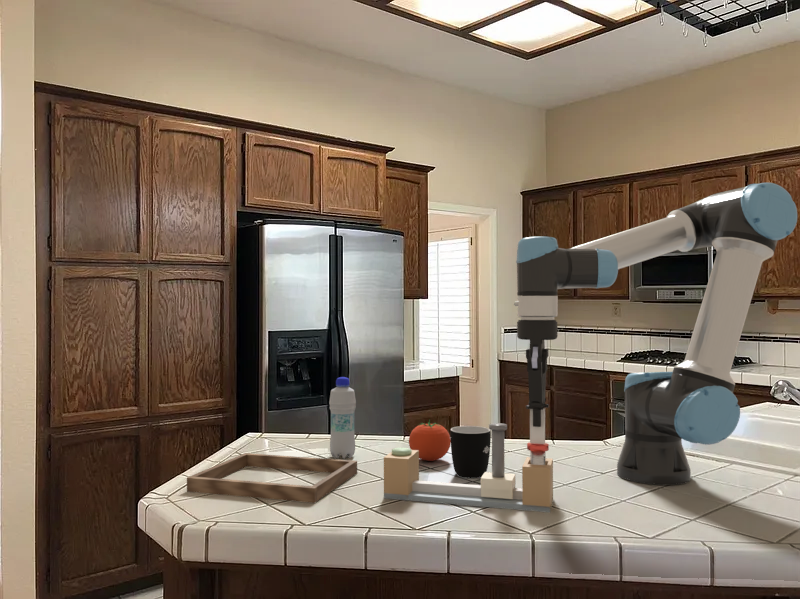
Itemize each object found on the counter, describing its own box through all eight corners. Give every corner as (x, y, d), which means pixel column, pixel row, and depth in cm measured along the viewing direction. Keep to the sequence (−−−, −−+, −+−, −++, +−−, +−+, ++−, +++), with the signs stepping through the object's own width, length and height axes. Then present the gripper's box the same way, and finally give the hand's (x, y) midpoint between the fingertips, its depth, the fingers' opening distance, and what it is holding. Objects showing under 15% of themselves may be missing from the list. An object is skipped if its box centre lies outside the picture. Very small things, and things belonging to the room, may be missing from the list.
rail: (553, 499, 129) (552, 454, 129) (550, 512, 121) (549, 464, 121) (395, 487, 138) (395, 445, 138) (383, 498, 131) (383, 453, 131)
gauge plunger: (549, 489, 127) (549, 442, 127) (548, 495, 123) (547, 446, 124) (528, 487, 128) (528, 441, 129) (526, 493, 125) (526, 445, 125)
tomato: (459, 461, 161) (459, 420, 161) (425, 467, 155) (425, 425, 155) (433, 454, 169) (433, 414, 169) (400, 459, 163) (400, 418, 163)
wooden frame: (357, 473, 150) (357, 460, 150) (314, 502, 128) (314, 488, 128) (245, 464, 158) (245, 453, 158) (186, 491, 136) (186, 477, 136)
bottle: (361, 455, 167) (361, 376, 168) (345, 461, 162) (345, 379, 162) (340, 452, 171) (340, 375, 171) (323, 457, 165) (323, 377, 165)
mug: (488, 481, 143) (487, 434, 143) (447, 478, 145) (446, 432, 145) (494, 468, 154) (494, 424, 155) (456, 465, 157) (456, 422, 157)
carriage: (515, 492, 130) (515, 423, 130) (512, 499, 125) (512, 427, 125) (485, 490, 131) (484, 421, 131) (480, 497, 127) (480, 426, 127)
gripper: (521, 317, 134) (521, 435, 133) (513, 319, 121) (513, 448, 121) (559, 318, 131) (559, 437, 131) (555, 319, 119) (555, 451, 119)
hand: (537, 442), depth 126 cm, fingers closed
